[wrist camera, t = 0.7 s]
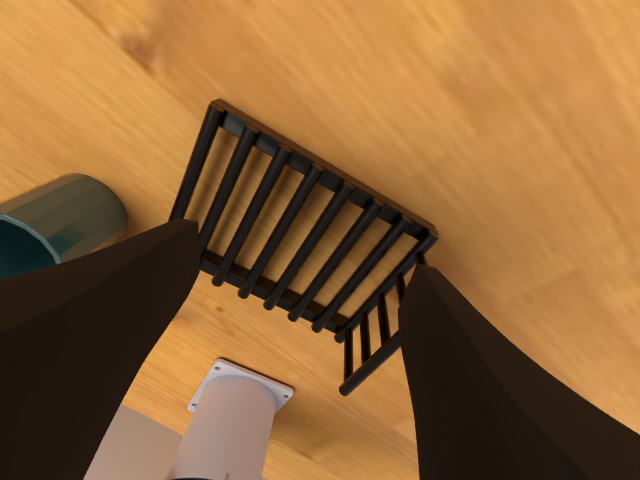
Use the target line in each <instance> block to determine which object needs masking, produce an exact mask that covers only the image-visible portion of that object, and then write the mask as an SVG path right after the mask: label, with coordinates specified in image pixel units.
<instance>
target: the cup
mask: <svg viewBox="0 0 640 480" xmlns="http://www.w3.org/2000/svg"><path fill="white" fill-rule="evenodd" d="M126 226H127V218H126V214H125V211H124V208H123V206H122V204H121V203H120V201H119V200H118V198H117V197H116V196H115V195H114V194H113V193H112V192H111V191H110V190H109V189H108V188H107V187H106V186H104V185H103V184H102V183H100V182H98V181H97V180H95V179H93V178H90V177H88V176H84V175H80V174H65V175H62V176H59V177H57V178H54V179H51V180H48V181H46V182H44V183H41V184H39V185H37V186H34V187H32V188H30V189H28V190H25V191H23V192H21V193H18V194H16V195H14V196H11V197H9V198H7V199H5V200H2V201H0V279H3V278H7V277H11V276H16V275H20V274H24V273H28V272H32V271H35V270H39V269H42V268H46V267H49V266H53V265H56V264H60V263H63V262H66V261H69V260H72V259H75V258H78V257H81V256H84V255H87V254H89V253H92V252H95V251H97V250H100V249H103V248H105V247H108V246H111V245H112V244H113V243H115V242H116V241H117V240H118V239H119V238H121V236H122V235H123V234H124V232H125V230H126Z"/></svg>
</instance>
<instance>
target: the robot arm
mask: <svg viewBox="0 0 640 480" xmlns="http://www.w3.org/2000/svg"><path fill="white" fill-rule="evenodd" d="M199 272H200V270H199V232H198V222H196V221H191V220H186V219H181V218H179V219H176V220H173V221H170V222H167V223H165V224H162V225H160V226H157V227H155V228H153V229H150V230H148V231H146V232H143V233H141V234H138V235H136V236H133V237H131V238H129V239H126V240H124V241H121V242H119V243H116V244H114V245H111V246H108V247H105V248H103V249H100V250H97V251H95V252H92V253H89V254H87V255H84V256H81V257H78V258H75V259H72V260H69V261H66V262H63V263H60V264H56V265H53V266H49V267H46V268H42V269H39V270H35V271H32V272H28V273H24V274H20V275H16V276H11V277H7V278H3V279H0V480H83V479H84V476H85V474H86V472H87V470H88V468H89V466H90V464H91V462H92V460H93V458H94V456H95V454H96V452H97V450H98V448H99V445H100V443H101V441H102V439H103V437H104V435H105V433H106V431H107V429H108V427H109V425H110V423H111V421H112V420H113V418H114V416H115V414H116V412H117V410H118V408H119V406H120V404H121V402H122V400H123V398H124V396H125V395H126V393H127V391H128V389H129V387H130V385H131V384H132V382H133V380H134V378H135V376H136V374H137V373H138V371H139V369H140V367H141V366H142V364H143V362H144V361H145V359H146V358H147V356H148V354H149V353H150V351H151V350H152V349H153V347H154V346H155V344H156V343H157V341H158V340H159V338H160V337H161V335H162V334H163V333H164V331H165V330H166V328H167V327H168V325H169V324H170V322H171V321H172V319H173V318H174V316H175V315H176V313H177V312H178V311H179V309H180V308H181V306H182V305H183V303H184V302H185V300H186V298H187V297H188V295H189V293H190V291H191V289H192V287H193V285H194V283H195V281H196V279H197V277H198V274H199ZM398 326H399V338H400V344H401V349H402V355H403V360H404V365H405V370H406V375H407V380H408V385H409V390H410V395H411V400H412V406H413V412H414V419H415V429H416V440H417V450H418V463H419V477H420V480H640V435H639V434H638V433H636V432H634V431H633V430H631V429H630V428H628V427H627V426H625V425H623V424H622V423H620V422H619V421H617V420H615V419H614V418H612V417H611V416H609V415H608V414H606V413H605V412H603V411H602V410H600V409H599V408H597V407H596V406H594V405H593V404H591V403H590V402H588V401H587V400H585V399H584V398H583V397H581V396H580V395H578V394H577V393H576V392H574V391H573V390H571V389H570V388H569V387H567V386H566V385H564V384H563V383H562V382H560V381H559V380H557V379H556V378H555V377H553V376H552V375H551V374H550V373H548V372H547V371H546V370H544V369H543V368H542V367H540V366H539V365H538V364H537V363H536V362H534V361H533V360H532V359H531V358H529V357H528V356H527V355H526V354H524V353H523V352H522V351H521V350H520V349H518V348H517V347H516V346H515V345H514V344H513V343H511V342H510V341H509V340H508V339H507V338H506V337H505V336H504V335H503V334H502V333H500V332H499V331H498V330H497V329H496V328H495V327H494V326H493V325H492V324H491V323H490V322H489V321H488V320H487V319H486V318H485V317H483V316H482V315H481V314H480V313H479V312H478V311H477V310H476V309H475V308H474V307H473V306H472V304H471V303H470V302H469V301H468V300H467V299H466V298H465V297H464V296H463V295H462V294H461V293H460V292H459V291H458V290H457V289H456V288H455V287H454V286H453V285H452V284H451V283H450V282H449V281H448V280H447V279H446V278H445V277H444V276H443V275H442V274H441V273H440V272H439V271H438V270H437V269H436V268H434V267H429V266H424V265H418V264H417V265H416V267H415V270H414V272H413V275H412V277H411V279H410V282H409V284H408V287H407V289H406V291H405V294H404V296H403V299H402V301H401V303H400V306H399V308H398ZM293 393H294V390H293V389H292V388H290V387H288V386H286V385H283V384H281V383H278V382H276V381H274V380H271V379H269V378H266V377H264V376H262V375H259V374H257V373H254V372H252V371H250V370H247V369H245V368H243V367H240V366H238V365H235V364H233V363H231V362H228V361H226V360H223V359H216V360H215V362H214V364H213V365H212V367H211V368H210V370H209V372H208V373H207V375H206V377H205V378H204V380H203V381H202V383H201V385H200V386H199V388H198V389H197V391H196V393H195V394H194V396H193V398H192V399H191V401H190V402H189V404H188V406H187V410H188V411H190V412H192V413H193V416H192V418H191V420H190V423H189V425H188V427H187V430H186V432H185V434H184V437H183V439H182V441H181V444H180V446H179V449H178V451H177V453H176V456H175V458H174V460H173V462H172V465H171V467H170V469H169V472H168V474H167V477H166V479H165V480H261V477H262V473H263V468H264V463H265V458H266V453H267V448H268V443H269V439H270V434H271V429H272V424H273V419H274V415H275V414H276V413H277V412H278V411H279V410H280V409H281V407H282V406H283V405H284V404H285V403H286V402H287V401H288V400H289V399H290V398H291V397H292V396H293Z"/></svg>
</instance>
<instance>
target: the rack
mask: <svg viewBox="0 0 640 480" xmlns="http://www.w3.org/2000/svg"><path fill="white" fill-rule="evenodd" d="M218 127H221V128H223V129H225V130H226V131H228V132H230V133H232V134H233V135H235V136H237V137H239V140H238V143H237V145H236V147H235V150H234V152H233V154H232V157H231V159H230V161H229V164H228V166H227V168H226V171H225V173H224V176H223V178H222V180H221V183H220V185H219V187H218V190H217V192H216V194H215V197H214V199H213V201H212V204H211V206H210V209H209V211H208V213H207V216H206V218H205V220H204V223H203V225H202V227H201V230H200V232H199V270H202V271H204V272H206V273H208V274H210V275H212V276H213V278H212V284H213V285H214V286H217V287H219V286H222V284H223V283H224V281H225V282H227V283H229V284H231V285H233V286H236V287H238V288H240V289H239V291H238V296H239V297H240V298H242V299H246V298H248V296H249V295H250V294H252V295H255V296H257V297H259V298H261V299H263V300H265V302H264V303H263V306H264V308H265V309H266V310H272V309H273V308H274V307H275V305H276V306H278V307H280V308H282V309H284V310H286V311H289V314H288V319H289V320H290V321H292V322H296V321H297V320H298V318H299V317H301V318H303V319H306V320H308V321H310V322H312V323H313V324H312V326H311V328H312V330H313V331H314V332H316V333H319V332H320V331H321V330H322V329H323V328H325V329H327V330H329V331H331V332H333V333H335V336H334V339H335V341H336V342H337V343H343V342H344V383H343V384H342V385H341V386H340V387H339V392H340V394H341V395H343V396H348V395H349V394H350V393H351V392H352V391H353V390H354V389H355V388H356V387H357V386H359V385H360V384H361V383H362V382H363V381H364V380H365V379H366V378H367V377H368V376H369V375H371V374H372V373H373V372H374V371H375V370H376V369H377V368H378V367H379V366H380V365H381V364H383V363H384V362H385V361H386V360H387V359H388V358H389V357H390V356H391V355H392V354H394V353H395V352H396V351H397V350H398V349H399V348H400V347H401V344H400V338H399V330H398V331H397V332H396V333H395V334H394V335H393V336H392V337H391V333H390V326H389V320H388V313H387V306H386V299H385V296H386V295H387V294H388V293H389V292H390V291H391V290H392V289H393V288H394V287H395V286H396V290H397V295H398V300H399V305H400V303H401V301H402V299H403V296H404V294H405V291H406V289H407V288H406V284H405V280H404V276H405V275H406V274H407V273H408V272H409V270H410V269H411V268H412V267H413V266H414V265H415V264H418V265H424V266H428V264H427V261H426V258H425V255H424V254H425V253H426V252H427V251H428V250H429V249H430V248H431V247H432V246H433V245H434V244H435V242H436V241H437V240H438V239H439V237H438V236H437V235H438V233H437V231H436V229H435V226H434V225H432V224H431V223H429V222H427V221H426V220H424V219H422V218H421V217H419V216H417V215H416V214H414V213H412V212H410V211H409V210H407V209H405V208H404V207H402V206H400V205H399V204H397V203H395V202H394V201H392V200H390V199H388V198H387V197H385V196H383V195H382V194H380V193H378V192H377V191H375V190H373V189H371V188H370V187H368V186H366V185H365V184H363V183H361V182H360V181H358V180H356V179H355V178H353V177H351V176H349V175H348V174H346V173H344V172H343V171H341V170H339V169H338V168H336V167H334V166H333V165H331V164H329V163H327V162H326V161H324V160H322V159H321V158H319V157H317V156H316V155H314V154H312V153H311V152H309V151H307V150H305V149H304V148H302V147H300V146H299V145H297V144H295V143H294V142H292V141H290V140H289V139H287V138H285V137H283V136H282V135H280V134H278V133H277V132H275V131H273V130H272V129H270V128H268V127H267V126H265V125H263V124H261V123H260V122H258V121H256V120H255V119H253V118H251V117H250V116H248V115H246V114H244V113H243V112H241V111H239V110H238V109H236V108H234V107H233V106H231V105H229V104H228V103H226V102H224V101H222V100H221V99H217V100H214V101H211V103H210V104H209V106H208V109H207V112H206V114H205V117H204V120H203V123H202V126H201V129H200V132H199V134H198V137H197V140H196V143H195V146H194V149H193V151H192V154H191V157H190V160H189V163H188V166H187V169H186V171H185V174H184V177H183V180H182V183H181V186H180V188H179V191H178V194H177V197H176V200H175V203H174V206H173V208H172V211H171V214H170V217H169V220H168V222H170V221H173V220H176V219H179V218H181V219H184V217H185V214H186V211H187V209H188V206H189V204H190V201H191V198H192V196H193V193H194V190H195V188H196V185H197V183H198V180H199V177H200V175H201V172H202V169H203V167H204V164H205V162H206V159H207V156H208V154H209V151H210V148H211V146H212V143H213V141H214V138H215V135H216V133H217V130H218ZM253 146H254V147H256V148H258V149H260V150H261V151H263V152H265V153H267V154H268V155H270V156H272V157H273V158H272V160H271V162H270V164H269V166H268V168H267V170H266V172H265V174H264V176H263V178H262V180H261V182H260V184H259V186H258V188H257V190H256V192H255V194H254V196H253V198H252V200H251V202H250V204H249V206H248V208H247V210H246V212H245V214H244V216H243V218H242V220H241V222H240V224H239V226H238V228H237V230H236V232H235V234H234V236H233V238H232V240H231V242H230V244H229V246H228V248H227V250H226V252H225V254H224V256H223V257H221V256H219V255H217V254H215V253H213V252H211V251H209V250H207V246H208V244H209V242H210V240H211V238H212V235H213V233H214V231H215V229H216V226H217V224H218V222H219V220H220V218H221V215H222V213H223V211H224V209H225V207H226V204H227V202H228V200H229V198H230V196H231V193H232V191H233V189H234V187H235V185H236V182H237V180H238V178H239V176H240V174H241V171H242V169H243V167H244V165H245V163H246V160H247V158H248V156H249V154H250V152H251V149H252V147H253ZM285 165H288V166H289V167H291V168H293V169H295V170H296V171H298V172H300V173H302V174H303V175H305V176H304V178H303V179H302V181H301V183H300V185H299V186H298V188H297V190H296V192H295V193H294V195H293V197H292V199H291V200H290V202H289V204H288V206H287V207H286V209H285V211H284V213H283V214H282V216H281V218H280V219H279V221H278V223H277V225H276V226H275V228H274V230H273V232H272V233H271V235H270V237H269V239H268V240H267V242H266V244H265V246H264V247H263V249H262V251H261V253H260V254H259V256H258V258H257V260H256V261H255V263H254V265H253V267H252V268H251V270H248V269H246V268H244V267H242V266H240V265H238V264H236V263H234V262H235V260H236V258H237V256H238V254H239V252H240V250H241V248H242V247H243V245H244V243H245V241H246V239H247V237H248V235H249V233H250V231H251V230H252V228H253V226H254V224H255V222H256V220H257V218H258V216H259V214H260V212H261V211H262V209H263V207H264V205H265V203H266V201H267V199H268V197H269V195H270V194H271V192H272V190H273V188H274V186H275V184H276V182H277V180H278V178H279V176H280V175H281V173H282V171H283V169H284V167H285ZM317 183H319V184H321V185H323V186H324V187H326V188H328V189H330V190H331V191H333V192H335V194H334V195H333V197H332V199H331V200H330V202H329V203H328V205H327V206H326V208H325V209H324V211H323V212H322V214H321V215H320V217H319V219H318V220H317V222H316V223H315V225H314V226H313V228H312V229H311V231H310V232H309V234H308V235H307V237H306V239H305V240H304V242H303V243H302V245H301V246H300V248H299V249H298V251H297V252H296V254H295V255H294V257H293V259H292V260H291V262H290V263H289V265H288V266H287V268H286V269H285V271H284V272H283V274H282V275H281V277H280V279H279V280H278V282H277V283H275V282H273V281H271V280H269V279H267V278H265V277H263V276H261V275H262V273H263V271H264V270H265V268H266V266H267V265H268V263H269V261H270V260H271V258H272V256H273V255H274V253H275V252H276V250H277V248H278V247H279V245H280V243H281V242H282V240H283V238H284V237H285V235H286V233H287V232H288V230H289V228H290V227H291V225H292V223H293V222H294V220H295V218H296V217H297V215H298V213H299V212H300V210H301V208H302V207H303V205H304V203H305V202H306V200H307V199H308V197H309V195H310V194H311V192H312V190H313V189H314V187H315V185H316V184H317ZM347 200H349V201H351V202H352V203H354V204H356V205H358V206H359V207H361V208H363V209H364V211H363V212H362V213H361V215H360V216H359V217H358V219H357V220H356V222H355V223H354V224H353V226H352V227H351V228H350V230H349V231H348V233H347V234H346V235H345V237H344V238H343V239H342V241H341V242H340V244H339V245H338V246H337V248H336V249H335V250H334V252H333V253H332V255H331V256H330V257H329V259H328V260H327V261H326V263H325V264H324V266H323V267H322V268H321V270H320V271H319V272H318V274H317V275H316V276H315V278H314V279H313V281H312V282H311V283H310V285H309V286H308V287H307V289H306V290H305V292H304V293H303V294H302V295H299V294H297V293H295V292H293V291H291V290H289V289H287V287H288V286H289V285H290V283H291V282H292V280H293V279H294V277H295V276H296V274H297V273H298V271H299V270H300V268H301V267H302V265H303V264H304V263H305V261H306V260H307V258H308V257H309V255H310V254H311V252H312V251H313V249H314V248H315V246H316V245H317V243H318V242H319V240H320V239H321V238H322V236H323V235H324V233H325V232H326V230H327V229H328V227H329V226H330V224H331V223H332V221H333V220H334V218H335V217H336V216H337V214H338V213H339V211H340V210H341V208H342V207H343V205H344V204H345V202H346V201H347ZM376 216H377V217H379V218H380V219H382V220H384V221H386V222H387V223H389V224H391V225H392V226H391V227H390V229H389V230H388V231H387V232H386V234H385V235H384V236H383V237H382V239H381V240H380V241H379V242H378V244H377V245H376V246H375V247H374V248H373V250H372V251H371V252H370V253H369V255H368V256H367V257H366V258H365V260H364V261H363V262H362V263H361V265H360V266H359V267H358V268H357V270H356V271H355V272H354V273H353V274H352V276H351V277H350V278H349V279H348V281H347V282H346V283H345V284H344V286H343V287H342V288H341V289H340V291H339V292H338V293H337V294H336V296H335V297H334V298H333V299H332V300H331V302H330V303H329V304H328V305H327V307H324V306H322V305H320V304H318V303H316V302H314V301H312V300H313V299H314V297H315V296H316V295H317V293H318V292H319V291H320V289H321V288H322V287H323V286H324V284H325V283H326V282H327V280H328V279H329V278H330V276H331V275H332V274H333V272H334V271H335V270H336V268H337V267H338V266H339V264H340V263H341V262H342V261H343V259H344V258H345V257H346V255H347V254H348V253H349V251H350V250H351V249H352V247H353V246H354V245H355V243H356V242H357V241H358V240H359V238H360V237H361V236H362V234H363V233H364V232H365V230H366V229H367V228H368V226H369V225H370V224H371V222H372V221H373V220H374V219H375V217H376ZM404 232H405V233H407V234H408V235H410V236H412V237H414V238H415V239H417V240H419V241H418V242H417V243H416V244H415V246H414V247H413V248H412V249H411V250H410V251H409V252H408V253H407V255H406V256H405V257H404V258H403V259H402V260H401V261H400V262H399V263H398V265H397V266H396V267H395V268H394V269H393V270H392V271H391V272H390V274H389V275H388V276H387V277H386V278H385V279H384V280H383V281H382V283H381V284H380V285H379V286H378V287H377V288H376V289H375V290H374V292H373V293H372V294H371V295H370V296H369V297H368V298H367V299H366V301H365V302H364V303H363V304H362V305H361V306H360V307H359V308H358V310H357V311H356V312H355V313H354V314H353V315H352V316H351V317H350V319H349V318H347V317H345V316H343V315H341V314H339V313H336V312H337V311H338V310H339V309H340V308H341V306H342V305H343V304H344V303H345V302H346V300H347V299H348V298H349V297H350V296H351V294H352V293H353V292H354V291H355V290H356V289H357V287H358V286H359V285H360V284H361V283H362V281H363V280H364V279H365V278H366V277H367V276H368V274H369V273H370V272H371V271H372V270H373V268H374V267H375V266H376V265H377V264H378V262H379V261H380V260H381V259H382V258H383V257H384V255H385V254H386V253H387V252H388V251H389V249H390V248H391V247H392V246H393V245H394V244H395V242H396V241H397V240H398V239H399V238H400V236H401V235H402V234H403V233H404ZM376 306H377V310H378V319H379V328H380V338H381V347H380V348H379V349H378V350H377V351H376V352H375V353H374V354H373V355H372V356H371V346H370V332H369V318H368V315H369V314H370V312H371V311H372V310H373V309H374V308H375V307H376ZM359 324H360V336H361V363H362V365H361V366H360V367H359V368H358V369H357V370H356V371H355V372H354V373H353V331H354V330H355V329H356V328H357V327H358V325H359Z"/></svg>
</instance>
